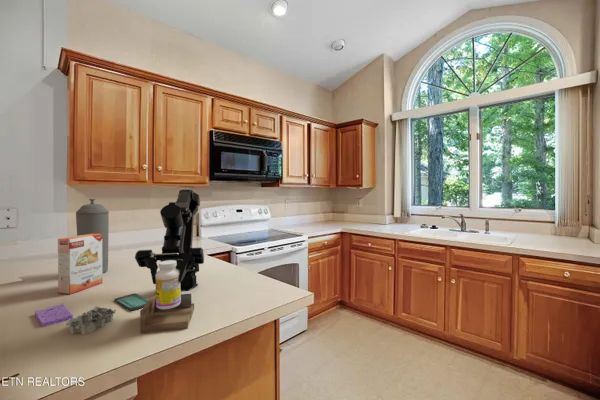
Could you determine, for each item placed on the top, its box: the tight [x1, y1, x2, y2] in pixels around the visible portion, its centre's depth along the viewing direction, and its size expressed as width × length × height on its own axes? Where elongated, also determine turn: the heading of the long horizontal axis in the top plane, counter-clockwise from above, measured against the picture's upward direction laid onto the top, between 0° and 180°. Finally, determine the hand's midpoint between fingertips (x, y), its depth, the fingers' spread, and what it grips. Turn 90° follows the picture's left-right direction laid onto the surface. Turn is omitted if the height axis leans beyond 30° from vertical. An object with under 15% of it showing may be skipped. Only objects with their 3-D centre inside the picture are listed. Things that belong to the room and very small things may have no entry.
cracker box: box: [57, 234, 103, 295], centre depth 112 cm, size 14×6×21 cm, turn 168°
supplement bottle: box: [154, 260, 182, 309], centre depth 82 cm, size 7×7×13 cm
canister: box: [75, 198, 110, 274], centre depth 132 cm, size 13×13×35 cm
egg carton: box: [65, 305, 117, 336], centre depth 81 cm, size 11×8×4 cm
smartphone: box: [113, 293, 150, 312], centre depth 97 cm, size 7×1×15 cm
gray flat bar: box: [156, 293, 193, 311], centre depth 88 cm, size 1×10×4 cm, turn 103°
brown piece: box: [139, 293, 195, 334], centre depth 84 cm, size 13×12×6 cm
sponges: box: [34, 303, 74, 327], centre depth 86 cm, size 7×13×2 cm, turn 51°
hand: (167, 282), depth 81 cm, fingers closed on supplement bottle, 7 cm apart
